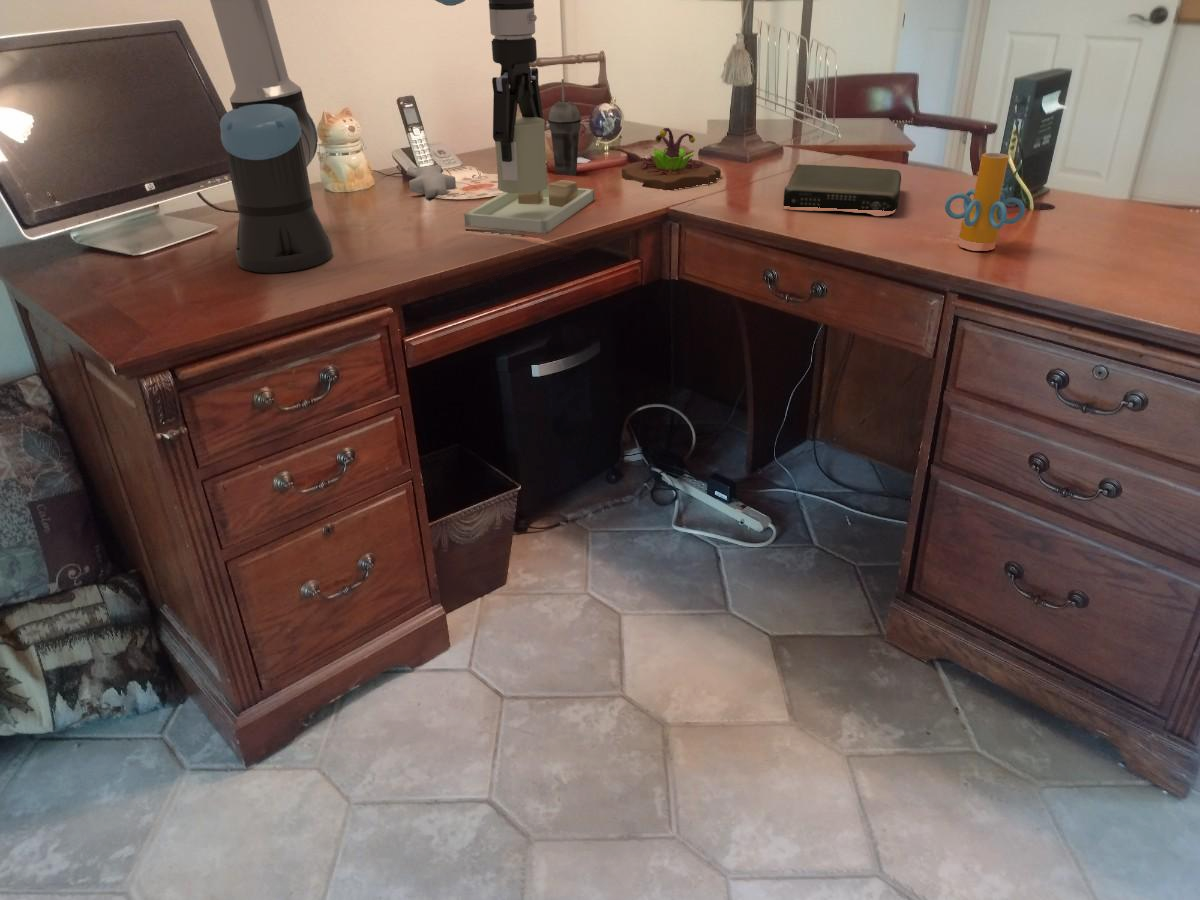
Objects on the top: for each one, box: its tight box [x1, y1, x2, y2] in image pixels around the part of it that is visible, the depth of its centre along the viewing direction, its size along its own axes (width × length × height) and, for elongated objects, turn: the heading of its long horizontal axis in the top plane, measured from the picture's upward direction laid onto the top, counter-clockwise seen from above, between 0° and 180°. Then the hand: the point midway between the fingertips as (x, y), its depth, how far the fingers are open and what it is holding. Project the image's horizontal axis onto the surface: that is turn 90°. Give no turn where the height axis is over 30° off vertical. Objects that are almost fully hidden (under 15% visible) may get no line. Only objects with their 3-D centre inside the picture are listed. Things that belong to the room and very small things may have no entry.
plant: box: [621, 127, 722, 191], centre depth 189 cm, size 20×20×11 cm
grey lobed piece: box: [406, 164, 457, 199], centre depth 183 cm, size 10×5×15 cm
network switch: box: [783, 164, 902, 211], centre depth 173 cm, size 23×24×5 cm
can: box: [494, 115, 549, 193], centre depth 157 cm, size 9×9×12 cm
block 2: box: [548, 179, 579, 207], centre depth 170 cm, size 4×4×4 cm
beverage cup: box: [547, 78, 582, 177], centre depth 191 cm, size 7×7×20 cm
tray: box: [463, 186, 595, 237], centre depth 166 cm, size 24×16×3 cm, turn 160°
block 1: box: [518, 190, 543, 204], centre depth 172 cm, size 4×4×4 cm
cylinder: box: [944, 152, 1026, 243], centre depth 144 cm, size 12×10×15 cm
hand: (521, 173), depth 159 cm, fingers closed on can, 9 cm apart
